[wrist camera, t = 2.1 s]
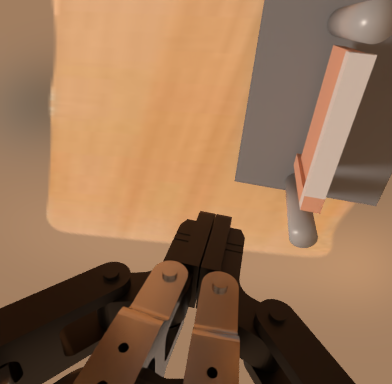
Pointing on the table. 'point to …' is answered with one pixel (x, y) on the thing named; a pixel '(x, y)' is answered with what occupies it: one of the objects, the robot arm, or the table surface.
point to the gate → (331, 124)
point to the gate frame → (307, 99)
